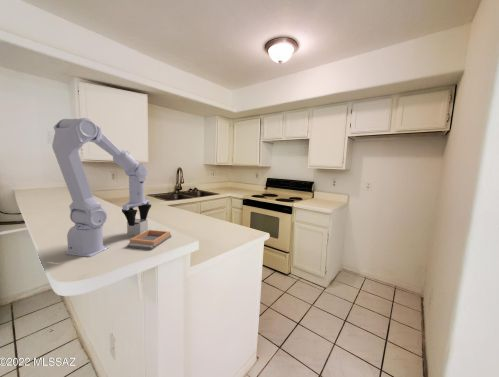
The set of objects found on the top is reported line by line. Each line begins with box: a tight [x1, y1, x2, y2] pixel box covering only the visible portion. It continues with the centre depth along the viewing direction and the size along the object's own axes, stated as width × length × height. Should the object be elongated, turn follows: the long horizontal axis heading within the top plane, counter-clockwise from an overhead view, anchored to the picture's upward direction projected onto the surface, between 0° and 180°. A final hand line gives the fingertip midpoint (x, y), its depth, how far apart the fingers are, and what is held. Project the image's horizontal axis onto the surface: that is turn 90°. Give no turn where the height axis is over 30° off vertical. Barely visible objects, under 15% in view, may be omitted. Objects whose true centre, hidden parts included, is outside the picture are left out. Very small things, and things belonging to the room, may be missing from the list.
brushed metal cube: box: [126, 218, 149, 237], centre depth 89 cm, size 6×5×6 cm
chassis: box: [127, 229, 172, 251], centre depth 82 cm, size 10×14×3 cm
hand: (137, 222), depth 89 cm, fingers open, 7 cm apart
